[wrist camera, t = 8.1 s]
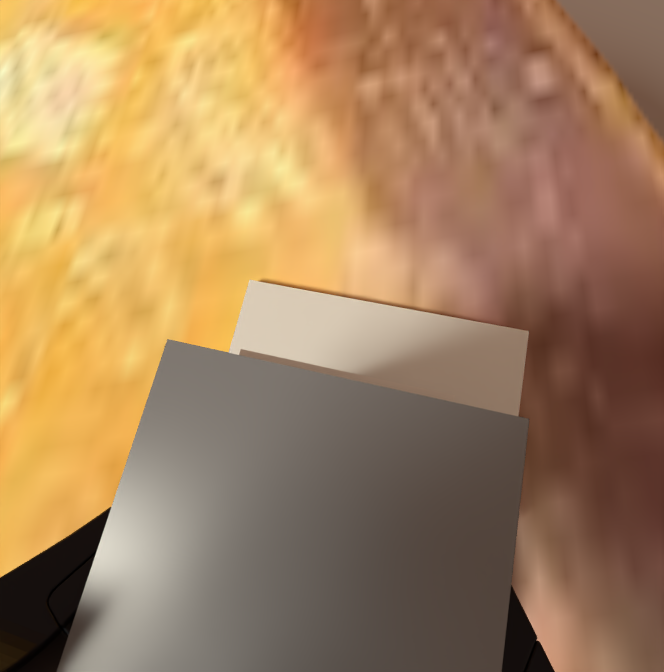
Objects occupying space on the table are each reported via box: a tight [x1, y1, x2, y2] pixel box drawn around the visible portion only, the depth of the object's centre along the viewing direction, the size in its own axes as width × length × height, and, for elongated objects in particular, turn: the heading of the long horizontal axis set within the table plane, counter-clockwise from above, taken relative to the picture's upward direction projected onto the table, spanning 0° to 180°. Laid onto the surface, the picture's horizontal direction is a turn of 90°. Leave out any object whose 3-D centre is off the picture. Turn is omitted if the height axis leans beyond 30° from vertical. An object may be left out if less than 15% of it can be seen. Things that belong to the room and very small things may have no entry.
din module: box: [57, 339, 529, 672], centre depth 10 cm, size 6×5×12 cm
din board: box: [229, 280, 529, 416], centre depth 16 cm, size 16×14×1 cm
